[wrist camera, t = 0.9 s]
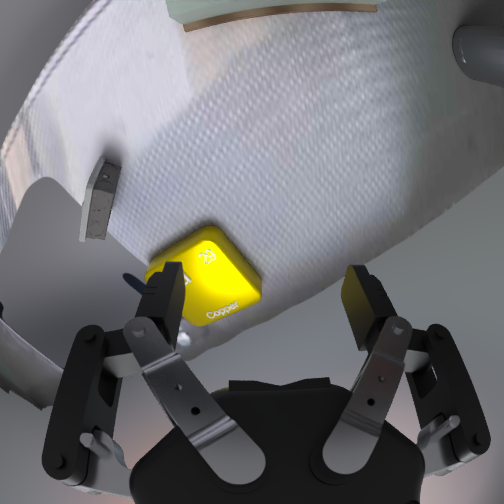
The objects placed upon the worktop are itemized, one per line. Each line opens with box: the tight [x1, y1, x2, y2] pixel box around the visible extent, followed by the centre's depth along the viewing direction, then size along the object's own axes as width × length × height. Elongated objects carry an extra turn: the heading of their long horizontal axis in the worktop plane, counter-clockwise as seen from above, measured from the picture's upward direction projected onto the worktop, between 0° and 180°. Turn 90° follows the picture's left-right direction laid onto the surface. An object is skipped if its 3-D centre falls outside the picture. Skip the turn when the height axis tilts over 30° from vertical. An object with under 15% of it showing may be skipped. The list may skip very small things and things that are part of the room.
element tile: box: [145, 225, 262, 326], centre depth 47 cm, size 15×15×5 cm
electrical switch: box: [79, 157, 121, 242], centre depth 36 cm, size 9×5×9 cm, turn 154°
